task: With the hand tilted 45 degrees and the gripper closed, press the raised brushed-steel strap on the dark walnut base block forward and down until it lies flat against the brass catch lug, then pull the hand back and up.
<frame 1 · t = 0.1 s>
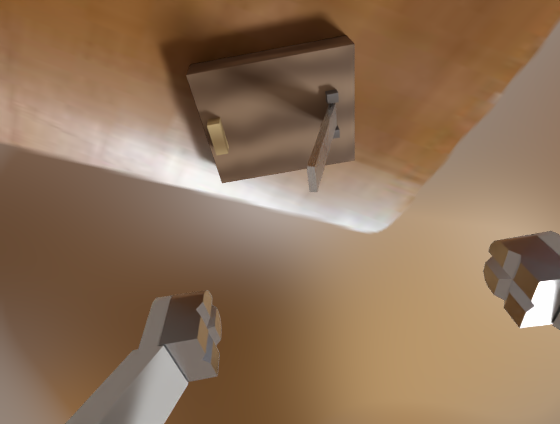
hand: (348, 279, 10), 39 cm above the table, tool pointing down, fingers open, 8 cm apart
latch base: (277, 109, 47), on the table
strap: (324, 142, 38), point 11 cm above the table, hinge at 70.0°
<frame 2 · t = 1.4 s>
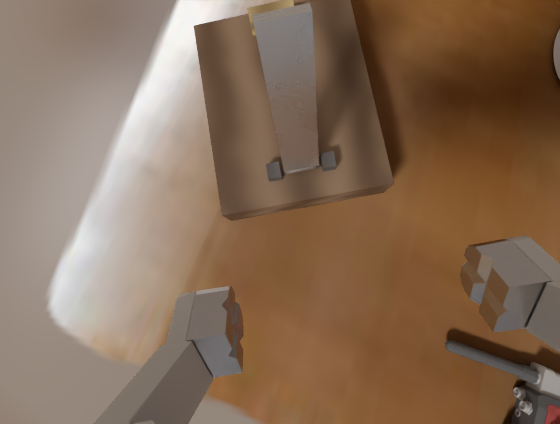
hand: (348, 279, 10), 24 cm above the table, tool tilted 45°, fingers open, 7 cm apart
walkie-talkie: (538, 414, 30), on the table
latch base: (289, 117, 36), on the table
strap: (294, 111, 24), point 11 cm above the table, hinge at 70.0°
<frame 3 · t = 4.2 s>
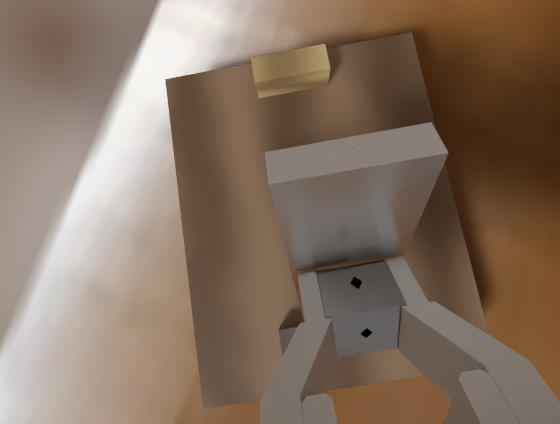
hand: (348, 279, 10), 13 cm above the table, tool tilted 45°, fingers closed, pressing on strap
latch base: (312, 217, 23), on the table
strap: (341, 288, 12), point 11 cm above the table, hinge at 65.5°, touching gripper
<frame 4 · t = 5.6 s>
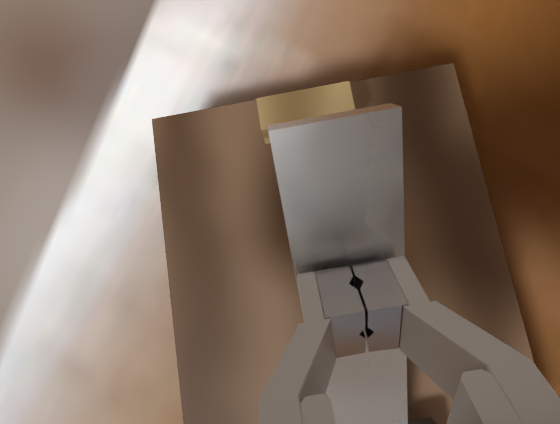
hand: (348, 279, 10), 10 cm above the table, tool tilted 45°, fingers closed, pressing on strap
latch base: (328, 279, 20), on the table
strap: (354, 332, 11), point 8 cm above the table, hinge at 33.3°, touching gripper
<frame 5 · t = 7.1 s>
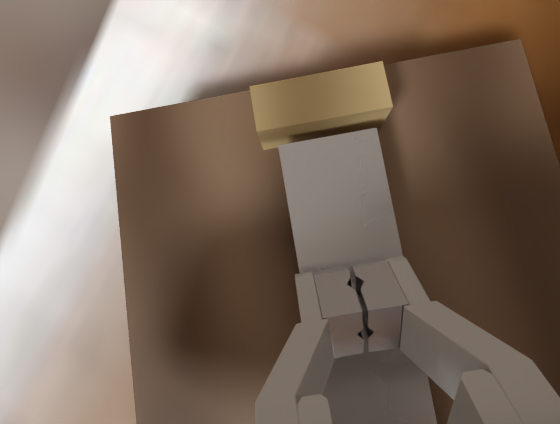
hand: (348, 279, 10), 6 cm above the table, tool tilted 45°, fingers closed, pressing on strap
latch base: (345, 325, 15), on the table
strap: (367, 363, 10), point 5 cm above the table, hinge at 2.7°, touching gripper
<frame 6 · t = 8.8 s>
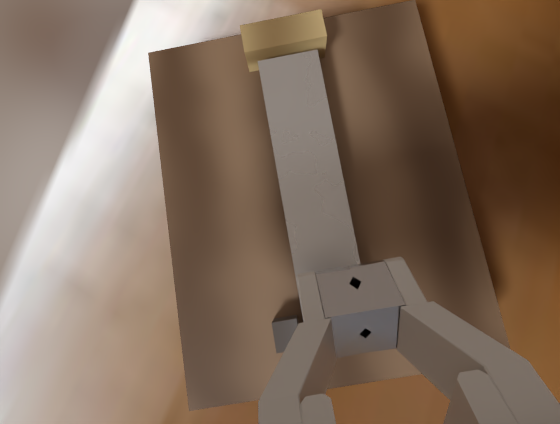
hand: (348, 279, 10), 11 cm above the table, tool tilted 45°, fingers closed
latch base: (309, 203, 22), on the table
strap: (312, 189, 17), point 5 cm above the table, hinge at 2.6°
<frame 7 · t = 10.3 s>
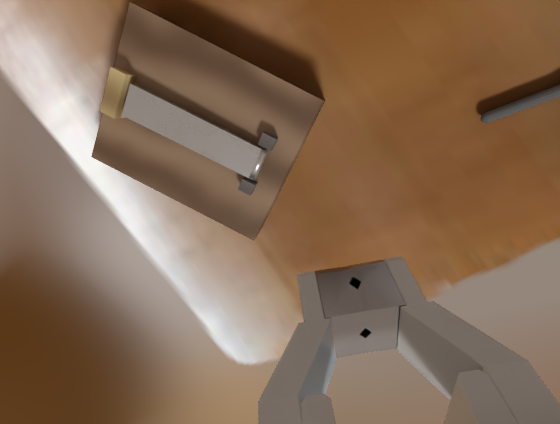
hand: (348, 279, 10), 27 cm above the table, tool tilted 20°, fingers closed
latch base: (211, 128, 37), on the table
strap: (195, 133, 32), point 5 cm above the table, hinge at 2.6°
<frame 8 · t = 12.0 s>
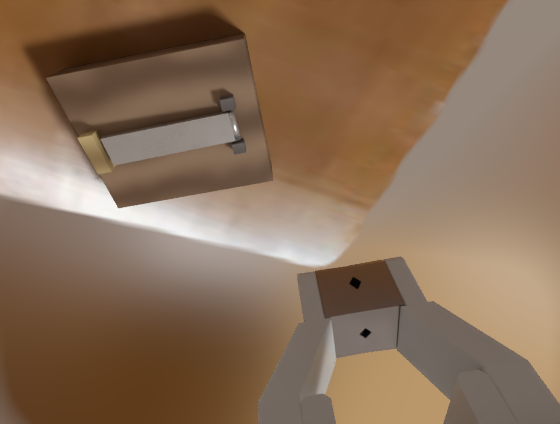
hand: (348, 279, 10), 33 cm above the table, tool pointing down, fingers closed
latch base: (179, 122, 40), on the table
strap: (173, 138, 36), point 5 cm above the table, hinge at 2.6°
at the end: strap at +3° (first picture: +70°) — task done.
